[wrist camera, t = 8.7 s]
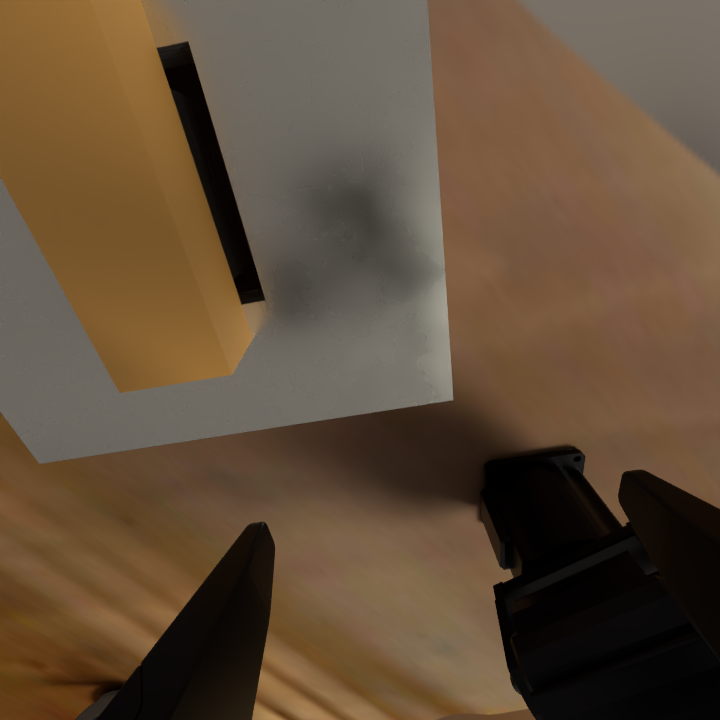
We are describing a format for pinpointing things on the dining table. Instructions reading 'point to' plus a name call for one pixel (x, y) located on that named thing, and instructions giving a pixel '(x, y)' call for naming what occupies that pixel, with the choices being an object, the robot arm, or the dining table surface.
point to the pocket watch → (97, 707)
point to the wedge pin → (122, 190)
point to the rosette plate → (271, 236)
